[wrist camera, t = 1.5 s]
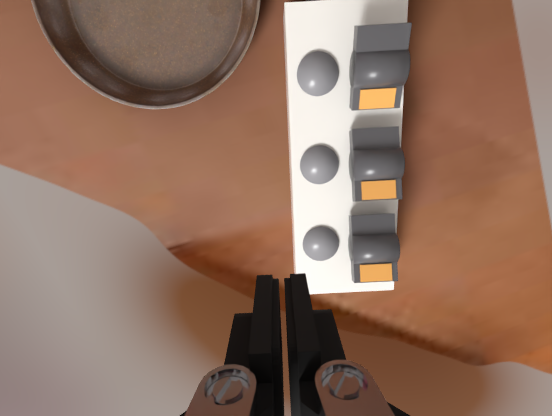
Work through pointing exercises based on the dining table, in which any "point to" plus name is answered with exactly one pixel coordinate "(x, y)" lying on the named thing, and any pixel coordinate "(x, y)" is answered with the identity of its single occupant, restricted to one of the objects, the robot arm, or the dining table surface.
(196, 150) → the dining table surface
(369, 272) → the switch
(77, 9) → the plant saucer
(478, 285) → the dining table surface
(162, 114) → the dining table surface
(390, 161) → the switch middle
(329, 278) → the power strip
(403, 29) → the switch
